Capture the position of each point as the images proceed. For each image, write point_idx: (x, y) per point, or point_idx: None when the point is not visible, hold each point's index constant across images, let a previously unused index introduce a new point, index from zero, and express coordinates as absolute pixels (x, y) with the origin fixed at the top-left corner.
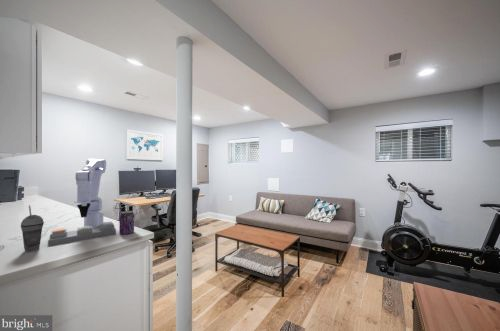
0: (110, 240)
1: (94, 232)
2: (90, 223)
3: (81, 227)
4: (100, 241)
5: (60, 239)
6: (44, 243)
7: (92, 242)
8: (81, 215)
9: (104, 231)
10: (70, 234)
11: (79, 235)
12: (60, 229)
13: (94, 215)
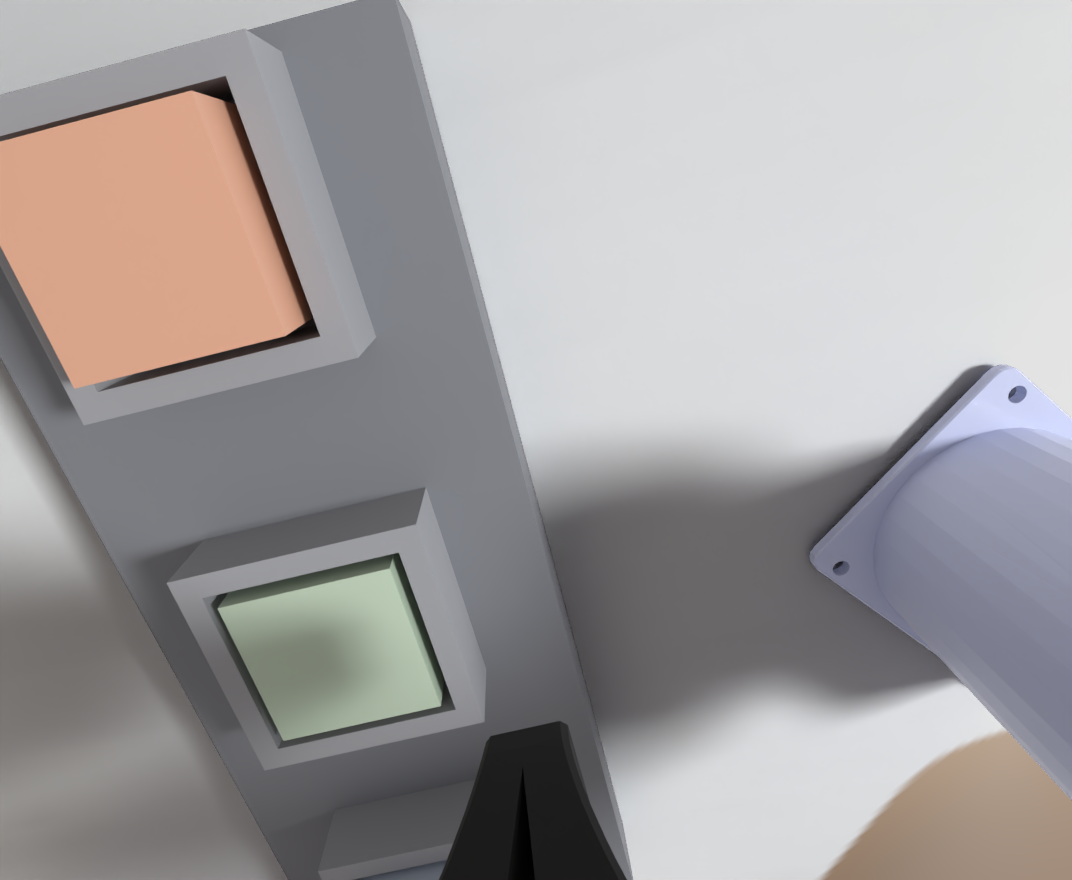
0: (50, 876)
1: (237, 753)
2: (922, 588)
3: (385, 602)
4: (34, 792)
5: (2, 330)
6: (137, 9)
7: (10, 720)
8: (476, 801)
9: (277, 848)
10: (227, 433)
11: (129, 587)
12: (151, 277)
13: (1050, 775)
